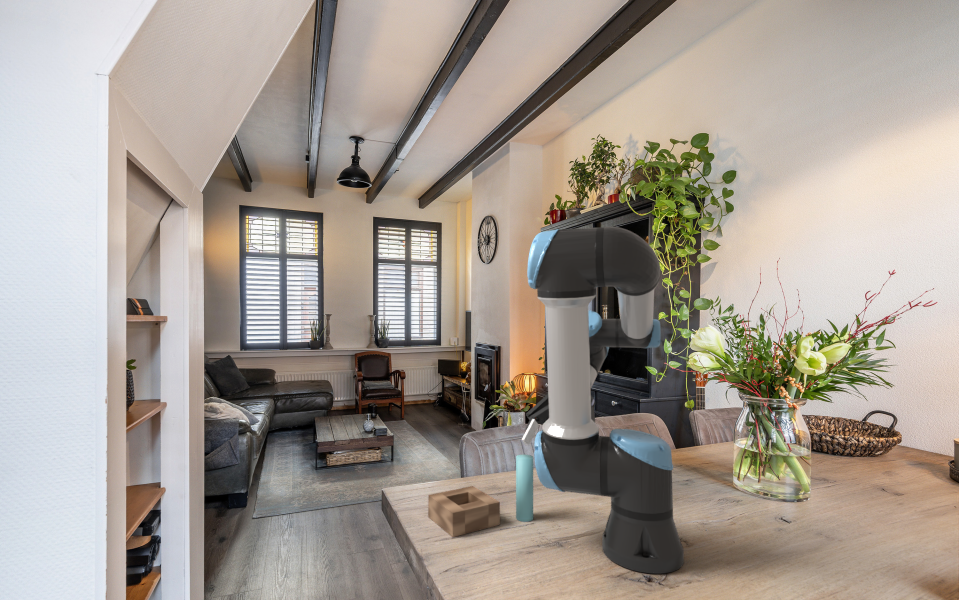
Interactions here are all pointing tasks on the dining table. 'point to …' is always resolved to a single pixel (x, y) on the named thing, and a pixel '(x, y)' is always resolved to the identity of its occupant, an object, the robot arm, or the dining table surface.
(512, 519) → the dining table surface
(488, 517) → the socket block
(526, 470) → the dowel
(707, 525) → the dining table surface
